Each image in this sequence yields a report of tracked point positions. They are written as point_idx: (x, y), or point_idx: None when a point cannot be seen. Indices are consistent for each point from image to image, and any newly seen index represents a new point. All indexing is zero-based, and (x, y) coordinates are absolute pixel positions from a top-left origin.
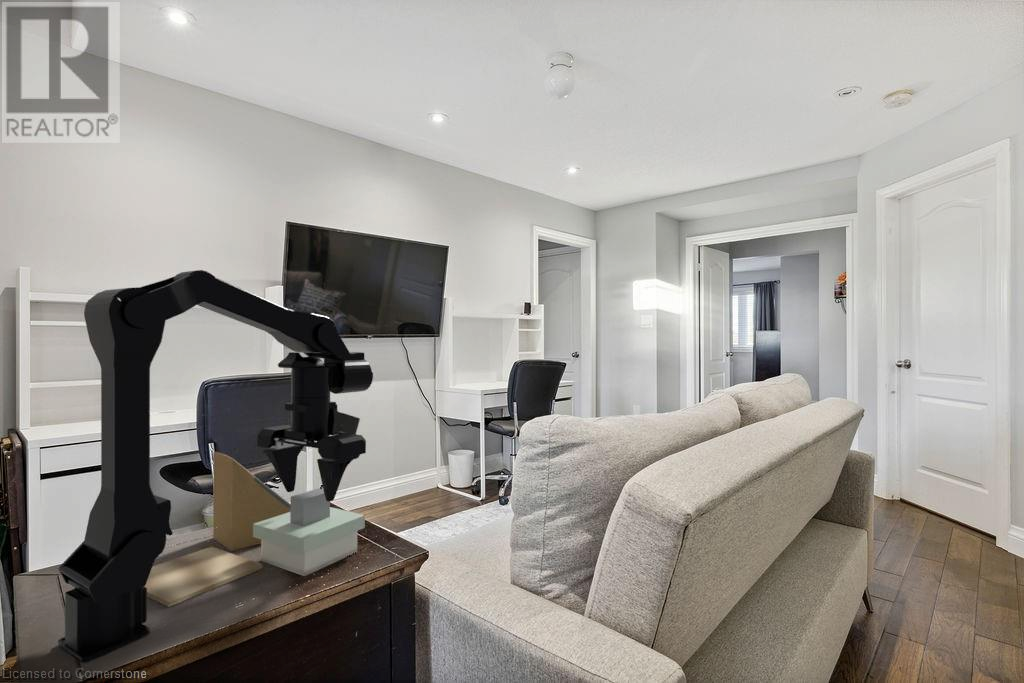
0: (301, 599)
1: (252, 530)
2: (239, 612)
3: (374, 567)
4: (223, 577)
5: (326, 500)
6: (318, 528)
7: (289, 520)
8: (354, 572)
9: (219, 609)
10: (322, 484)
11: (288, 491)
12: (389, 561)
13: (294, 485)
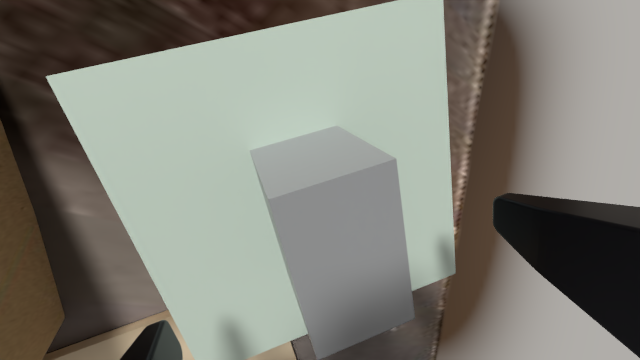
0: (455, 243)
1: (26, 302)
2: (414, 327)
3: (466, 60)
4: (279, 351)
5: (497, 231)
6: (419, 213)
7: (261, 270)
8: (449, 114)
9: (381, 350)
10: (599, 321)
11: (180, 353)
12: (472, 4)
13: (159, 344)
